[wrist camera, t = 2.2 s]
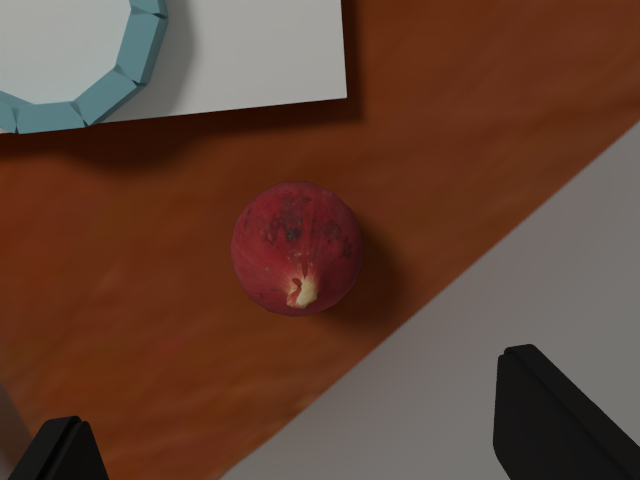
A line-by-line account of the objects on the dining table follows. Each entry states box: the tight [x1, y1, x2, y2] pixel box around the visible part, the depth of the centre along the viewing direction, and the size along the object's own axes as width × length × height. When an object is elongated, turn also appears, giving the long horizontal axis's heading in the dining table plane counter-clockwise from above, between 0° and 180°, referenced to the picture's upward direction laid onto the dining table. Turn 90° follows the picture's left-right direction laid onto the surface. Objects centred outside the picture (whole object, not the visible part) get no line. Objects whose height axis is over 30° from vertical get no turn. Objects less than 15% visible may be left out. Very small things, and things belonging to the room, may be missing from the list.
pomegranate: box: [230, 181, 363, 317], centre depth 19 cm, size 6×6×8 cm
